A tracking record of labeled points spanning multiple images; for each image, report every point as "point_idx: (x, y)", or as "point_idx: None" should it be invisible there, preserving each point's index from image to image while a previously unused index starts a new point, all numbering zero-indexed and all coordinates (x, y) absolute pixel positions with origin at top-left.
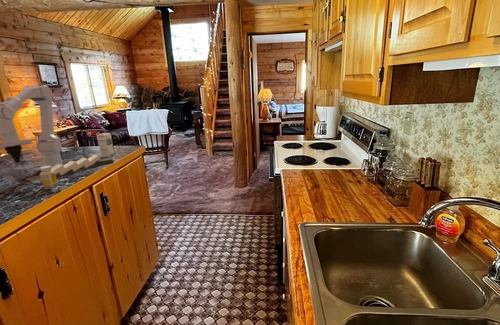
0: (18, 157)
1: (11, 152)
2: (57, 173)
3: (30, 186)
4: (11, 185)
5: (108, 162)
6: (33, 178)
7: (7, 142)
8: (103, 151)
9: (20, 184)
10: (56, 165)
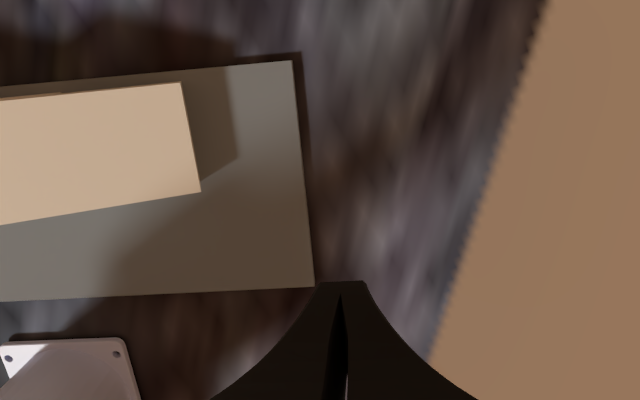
0: (320, 315)
1: (437, 389)
2: None
3: (338, 21)
4: (426, 224)
5: None
6: (264, 235)
7: None
8: None
9: (374, 182)
10: (11, 205)
